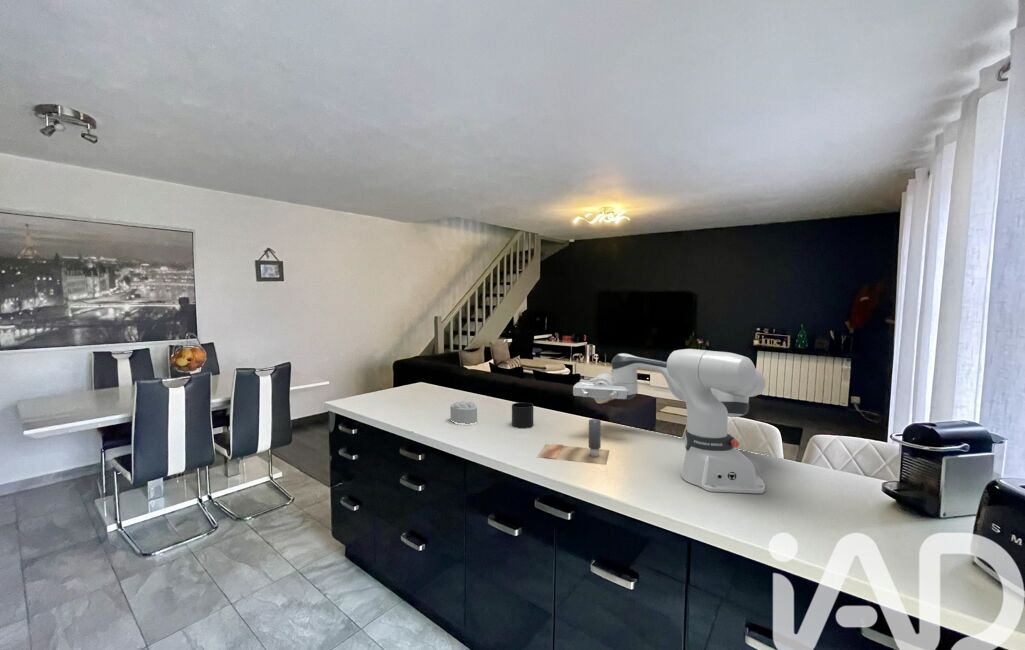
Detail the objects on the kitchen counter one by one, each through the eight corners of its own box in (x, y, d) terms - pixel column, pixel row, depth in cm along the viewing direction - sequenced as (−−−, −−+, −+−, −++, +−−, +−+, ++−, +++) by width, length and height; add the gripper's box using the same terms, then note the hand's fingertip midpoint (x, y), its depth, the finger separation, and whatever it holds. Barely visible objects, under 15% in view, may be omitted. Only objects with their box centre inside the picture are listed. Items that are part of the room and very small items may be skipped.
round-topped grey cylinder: (601, 454, 146) (601, 419, 145) (599, 458, 142) (600, 422, 141) (589, 453, 147) (589, 418, 146) (587, 457, 143) (588, 421, 143)
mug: (541, 423, 189) (541, 403, 188) (524, 429, 179) (524, 408, 179) (524, 419, 195) (524, 400, 194) (507, 425, 185) (507, 405, 185)
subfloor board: (609, 454, 150) (609, 449, 150) (606, 469, 137) (606, 463, 137) (545, 448, 157) (545, 443, 157) (536, 461, 143) (536, 456, 143)
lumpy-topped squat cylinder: (466, 416, 200) (466, 398, 200) (482, 422, 190) (482, 403, 190) (447, 420, 194) (447, 401, 194) (462, 427, 184) (462, 407, 183)
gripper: (628, 398, 167) (627, 406, 154) (576, 394, 173) (570, 402, 160) (628, 382, 166) (627, 388, 153) (576, 379, 173) (570, 385, 159)
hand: (597, 395), depth 157 cm, fingers open, 8 cm apart
